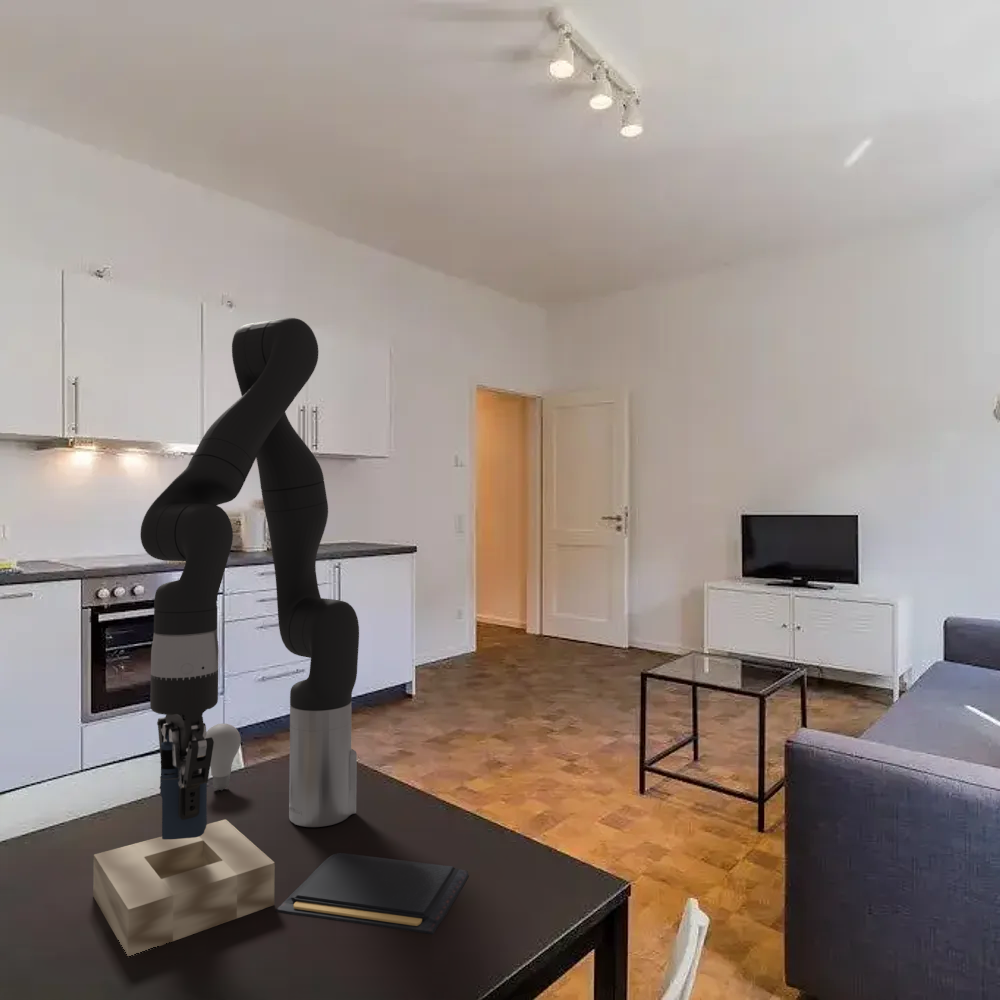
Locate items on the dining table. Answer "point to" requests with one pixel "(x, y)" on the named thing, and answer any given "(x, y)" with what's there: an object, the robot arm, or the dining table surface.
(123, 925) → the holder block
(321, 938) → the dining table surface
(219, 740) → the lightbulb
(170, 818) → the vaping device
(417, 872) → the black book
